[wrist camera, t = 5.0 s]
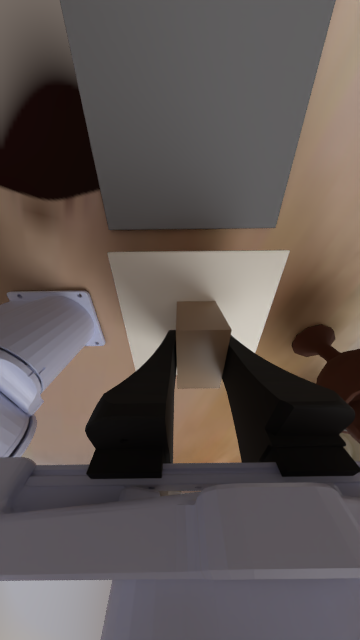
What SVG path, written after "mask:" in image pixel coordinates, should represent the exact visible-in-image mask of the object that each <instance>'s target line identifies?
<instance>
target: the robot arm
mask: <svg viewBox="0 0 360 640" xmlns="http://www.w3.org/2000/svg"><path fill="white" fill-rule="evenodd" d="M79 294H81V295H82V297H81V296H80V295H79ZM7 297H8V298H9V300H10V301H9V302H7V303H4V304H1V305H0V581H11V580H12V581H14V580H15V581H17V580H18V581H20V580H112V585H111V590H110V595H109V600H108V605H107V610H106V615H105V621H104V626H103V631H102V636H101V640H360V461H354V460H353V458H352V457H351V456H350V455H349V453H348V452H347V451H346V450H345V448H344V447H343V446H346V442H345V441H344V440H343V439H342V438H341V436H340V435H339V434H340V433H341V432H342V431H344V430H345V429H346V428H347V427H348V426H349V425H350V424H351V423H352V422H353V421H354V418H355V411H354V409H353V408H351V407H350V406H349V405H348V404H347V403H346V402H345V401H344V400H343V399H342V398H341V397H340V396H339V395H338V394H337V393H336V392H335V391H333V390H330V389H328V388H325V387H323V386H320V385H317V384H315V383H312V382H310V381H307V380H305V379H303V378H300V377H298V376H296V375H294V374H291V373H289V372H287V371H285V370H283V369H281V368H279V367H277V366H275V365H274V364H272V363H270V362H268V361H266V360H265V359H263V358H262V357H260V356H258V355H257V354H255V353H254V352H252V351H251V350H250V349H248V348H247V347H245V346H244V345H243V344H241V343H240V342H239V341H238V340H236V339H235V338H234V337H233V336H232V335H231V336H230V341H229V346H228V350H227V355H226V360H225V365H224V370H223V375H222V379H223V382H224V385H225V388H226V391H227V395H228V399H229V403H230V407H231V412H232V416H233V420H234V425H235V430H236V434H237V439H238V444H239V450H240V455H241V460H242V463H176V464H173V421H174V388H175V379H176V370H177V353H176V330H169V331H168V332H167V334H166V336H165V338H164V340H163V341H162V343H161V344H160V346H159V347H158V348H157V350H156V351H155V352H154V353H153V355H152V356H151V357H150V358H149V359H148V360H147V361H146V362H145V363H144V364H143V365H142V366H141V367H140V368H139V369H138V370H137V371H136V372H134V373H133V374H132V375H131V376H129V377H128V378H127V379H126V380H124V381H123V382H121V383H120V384H118V385H117V386H115V387H114V388H112V389H111V390H109V391H108V392H106V393H104V394H103V396H102V397H101V399H100V401H99V402H98V404H97V405H96V407H95V409H94V411H93V413H92V415H91V417H90V419H89V421H88V423H87V425H86V428H85V432H86V434H87V437H88V438H89V440H90V441H91V443H92V444H93V446H94V447H95V448H96V450H95V452H94V455H93V457H92V460H91V462H90V465H36V463H35V462H34V461H32V460H31V459H29V458H25V457H21V456H22V455H23V453H24V452H25V450H26V449H27V447H28V445H29V444H30V442H31V440H32V438H33V436H34V433H35V430H36V427H37V420H36V417H35V415H34V413H35V412H36V411H37V409H38V408H39V407H40V406H41V405H42V403H43V402H44V401H43V399H42V398H41V396H40V394H41V393H42V392H43V391H44V390H45V389H46V388H47V387H48V386H49V384H50V383H51V382H52V381H53V380H54V379H55V378H56V377H57V376H58V374H59V373H60V372H61V371H62V370H63V369H64V368H65V367H66V366H67V365H68V363H69V362H70V361H71V360H72V359H73V358H74V357H75V356H76V355H77V354H78V352H79V351H80V350H81V349H82V348H83V347H84V346H103V345H104V344H105V339H104V336H103V333H102V330H101V327H100V324H99V321H98V318H97V315H96V312H95V309H94V306H93V303H92V300H91V297H90V294H89V293H88V292H87V291H12V292H8V293H7ZM97 342H98V343H97ZM198 490H199V491H201V492H194V493H185V494H177V495H168V496H160V493H159V491H198Z"/></svg>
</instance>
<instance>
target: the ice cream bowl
mask: <svg viewBox="0 0 360 640" xmlns="http://www.w3.org/2000/svg"><path fill="white" fill-rule="evenodd" d="M334 340H335V335H334V331H333V330H332V328H330V327H327V326H324V325H317V326H313V327H308V328H307V329H305V330H304V331H302V332H301V333H300V334H298V335H297V336H296V338H295V340H294V342H293V344H292V347H293V350H294V352H295V353H297V354H299V355H302V356H305V357H309V356H314V355H320V356H321V357H322V358H324V359H325V360H326V361H327V364H326V365H325V366H324V368H323V369H322V371H321V372H320V374H319V376H318V378H317V383H316V384H317V385H320V386H323V387H325V388H328V389H330V390H333V391H335V392H336V393H337V394H338V395H339V396H340V397H341V398H342V399H343V400H344V401H345V402H346V403H347V404H348V405H349V406H350V407H351V408H353V409H354V411H355V418H354V421H353V422H352V423H351V424H350V425H349V426H348V427H347V428H346V429H345V430H344V431H342V432H341V433H345V434H350V435H351V436H352V437H353V438H354V439H355V440H356V441H357V442H358V443H359V444H360V349H357V350H352V351H347V352H343V353H340V352H338V351H337V350H336V349H334V348H333V347H332V346H331V344H332V343H333V342H334Z"/></svg>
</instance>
